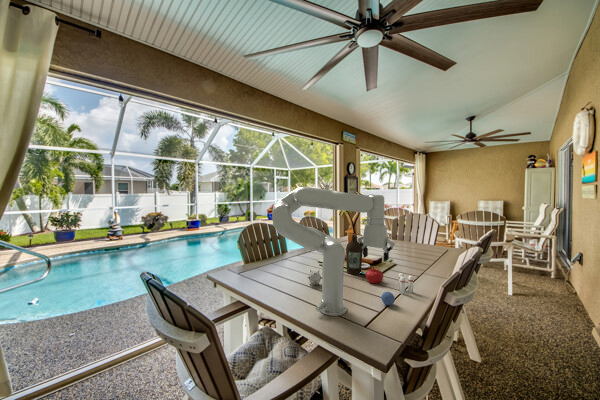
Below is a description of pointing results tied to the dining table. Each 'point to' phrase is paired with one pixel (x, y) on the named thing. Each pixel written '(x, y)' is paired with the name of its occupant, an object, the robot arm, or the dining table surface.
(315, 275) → the game die
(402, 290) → the front pin
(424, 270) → the dining table surface
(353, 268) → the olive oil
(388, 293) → the ball
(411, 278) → the pin
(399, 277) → the pin
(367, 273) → the pomegranate
